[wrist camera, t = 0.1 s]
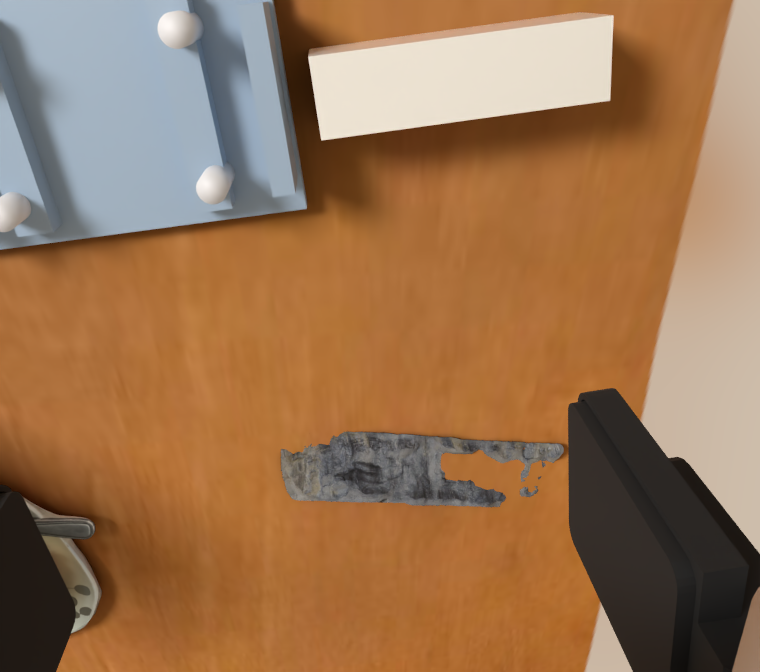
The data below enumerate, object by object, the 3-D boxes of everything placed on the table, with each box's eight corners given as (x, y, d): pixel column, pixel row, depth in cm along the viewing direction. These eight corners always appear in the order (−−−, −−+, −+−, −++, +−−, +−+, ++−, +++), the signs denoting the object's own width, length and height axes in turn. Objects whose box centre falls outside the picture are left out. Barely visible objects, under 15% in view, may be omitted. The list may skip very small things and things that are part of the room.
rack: (-26, 247, 40) (-71, 280, 36) (-125, 6, 34) (-194, 8, 30) (307, 203, 41) (305, 230, 36) (266, -43, 35) (258, -48, 30)
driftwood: (275, 491, 51) (274, 510, 49) (282, 417, 48) (281, 434, 46) (535, 503, 54) (543, 522, 52) (557, 434, 51) (566, 451, 49)
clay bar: (321, 123, 39) (321, 140, 34) (309, 48, 37) (308, 56, 33) (577, 87, 39) (610, 100, 35) (578, 12, 37) (613, 15, 33)
